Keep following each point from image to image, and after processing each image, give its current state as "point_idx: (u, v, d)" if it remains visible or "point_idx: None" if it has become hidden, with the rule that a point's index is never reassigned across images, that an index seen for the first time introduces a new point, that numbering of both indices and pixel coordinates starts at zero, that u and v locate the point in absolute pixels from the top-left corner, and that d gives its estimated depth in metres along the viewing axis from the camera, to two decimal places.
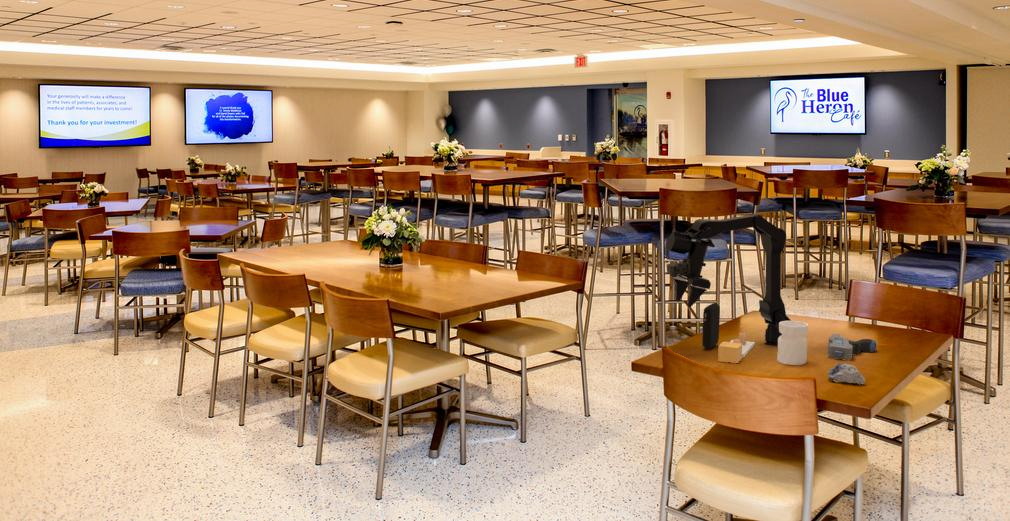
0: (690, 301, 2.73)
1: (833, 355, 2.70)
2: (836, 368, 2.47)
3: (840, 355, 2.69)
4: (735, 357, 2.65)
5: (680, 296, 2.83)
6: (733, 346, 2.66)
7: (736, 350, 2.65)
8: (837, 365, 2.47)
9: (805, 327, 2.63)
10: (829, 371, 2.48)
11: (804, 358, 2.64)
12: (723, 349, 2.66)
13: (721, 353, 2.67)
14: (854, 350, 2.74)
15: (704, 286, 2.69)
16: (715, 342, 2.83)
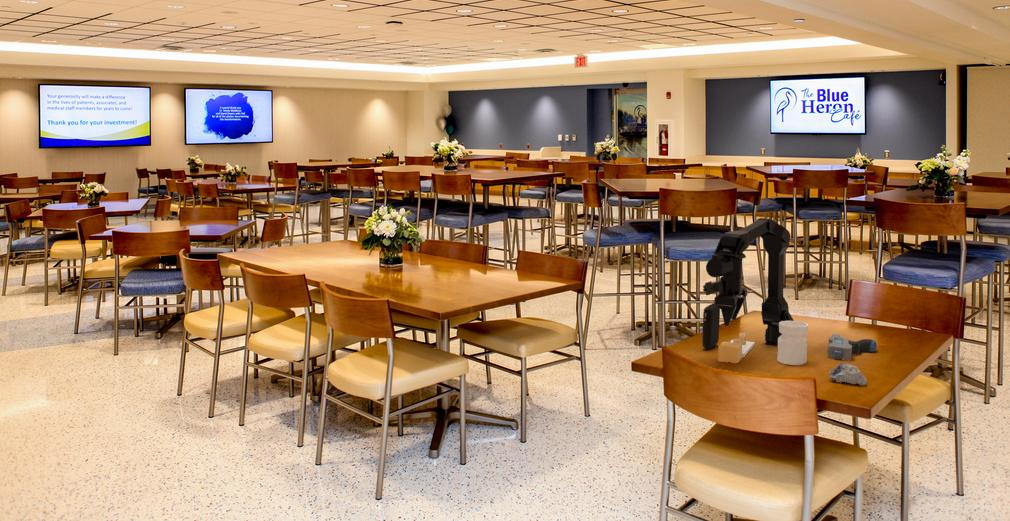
0: (725, 320, 2.63)
1: (832, 355, 2.71)
2: (837, 368, 2.47)
3: (839, 355, 2.69)
4: (735, 357, 2.65)
5: (735, 314, 2.71)
6: (733, 346, 2.66)
7: (736, 350, 2.65)
8: (839, 365, 2.46)
9: (805, 327, 2.63)
10: (831, 371, 2.47)
11: (804, 358, 2.64)
12: (723, 349, 2.66)
13: (721, 353, 2.67)
14: (854, 350, 2.74)
15: (726, 303, 2.58)
16: (715, 342, 2.83)
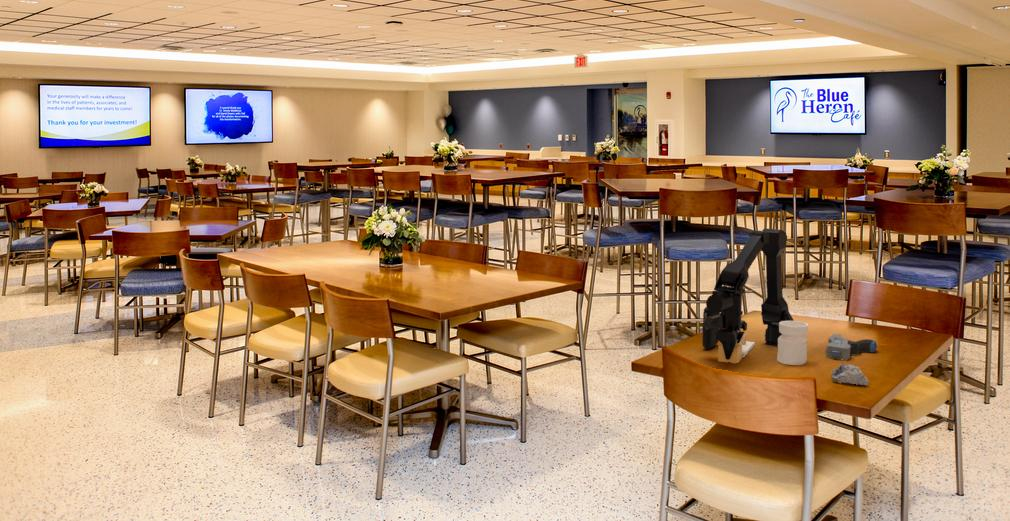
0: (726, 353, 2.65)
1: (830, 355, 2.71)
2: (839, 369, 2.46)
3: (837, 355, 2.69)
4: (735, 357, 2.65)
5: None
6: None
7: (736, 350, 2.65)
8: (840, 366, 2.46)
9: (805, 327, 2.63)
10: (832, 372, 2.47)
11: (804, 358, 2.64)
12: (723, 349, 2.66)
13: (721, 353, 2.67)
14: (853, 350, 2.73)
15: (726, 339, 2.59)
16: (715, 342, 2.83)
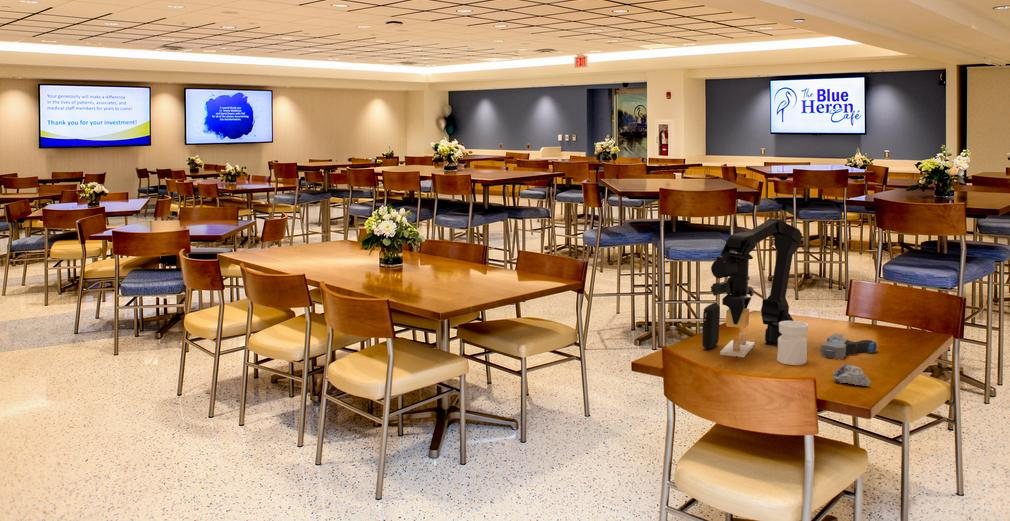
0: (733, 318, 2.71)
1: (825, 354, 2.72)
2: (841, 369, 2.45)
3: (831, 354, 2.71)
4: (743, 322, 2.71)
5: None
6: None
7: (743, 315, 2.70)
8: (842, 366, 2.45)
9: (805, 327, 2.63)
10: (834, 372, 2.46)
11: (804, 358, 2.64)
12: None
13: (729, 318, 2.72)
14: (849, 350, 2.74)
15: (734, 304, 2.64)
16: (715, 342, 2.83)
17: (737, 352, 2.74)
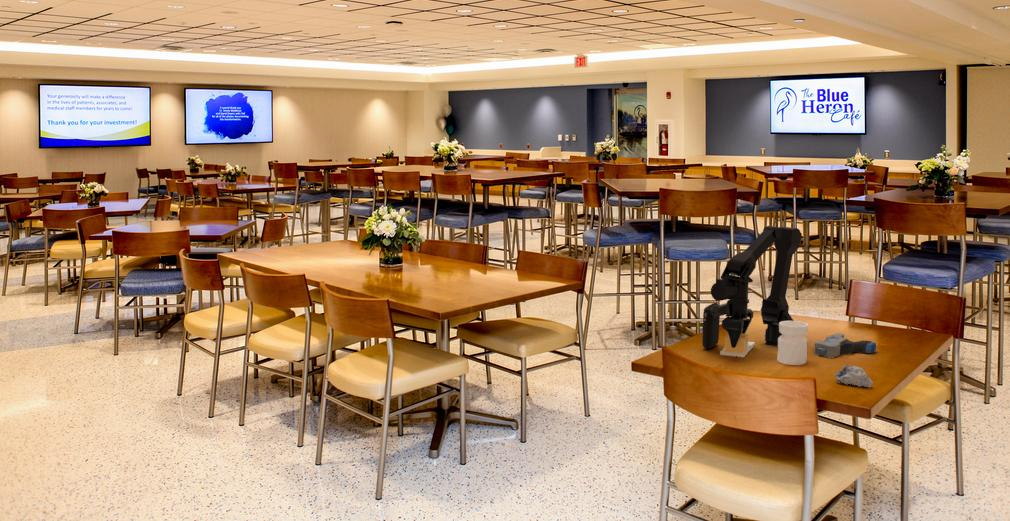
0: (731, 342, 2.72)
1: None
2: (843, 370, 2.45)
3: (823, 352, 2.73)
4: (742, 347, 2.73)
5: None
6: (740, 336, 2.74)
7: (742, 340, 2.72)
8: (845, 367, 2.45)
9: (805, 327, 2.63)
10: (836, 373, 2.46)
11: (804, 358, 2.64)
12: None
13: (728, 343, 2.75)
14: (844, 349, 2.75)
15: (733, 327, 2.67)
16: (715, 342, 2.83)
17: None
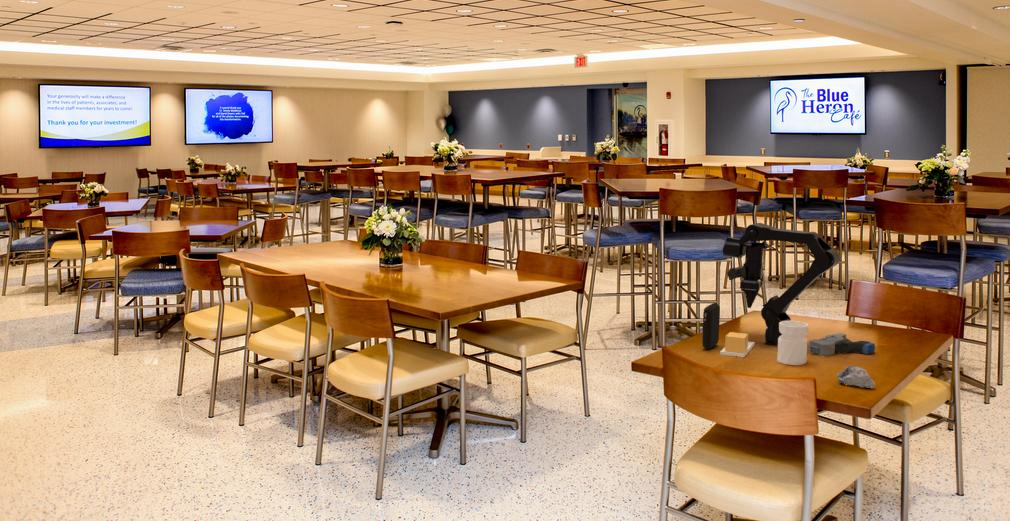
0: (748, 302, 2.88)
1: None
2: (846, 371, 2.44)
3: (816, 350, 2.75)
4: (742, 347, 2.73)
5: None
6: (740, 336, 2.74)
7: (742, 340, 2.72)
8: (847, 368, 2.44)
9: (805, 327, 2.63)
10: (839, 374, 2.45)
11: (804, 358, 2.64)
12: (730, 339, 2.74)
13: (728, 343, 2.75)
14: (839, 349, 2.76)
15: (752, 288, 2.83)
16: (715, 342, 2.83)
17: None
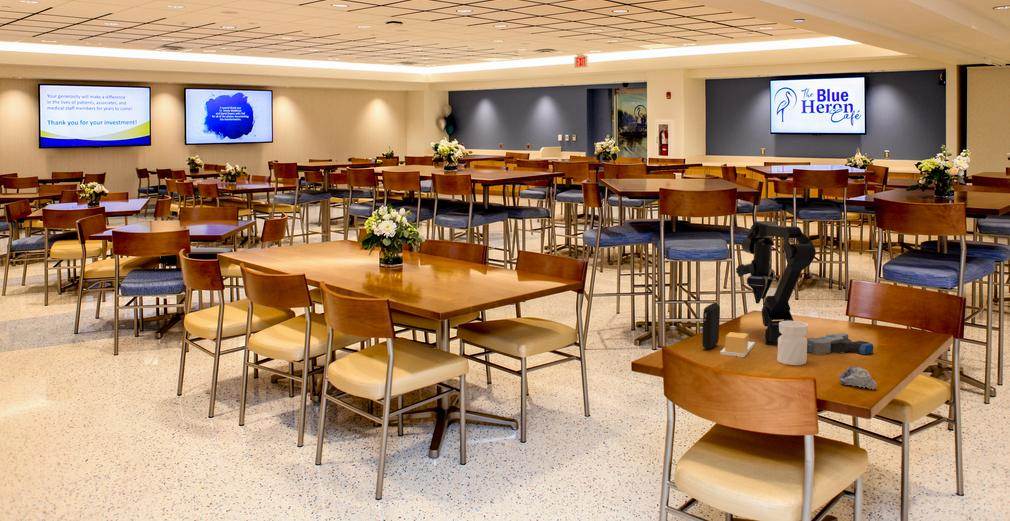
0: (756, 298, 2.94)
1: None
2: (848, 372, 2.43)
3: (811, 348, 2.77)
4: (742, 347, 2.73)
5: (764, 294, 3.03)
6: (740, 336, 2.74)
7: (742, 340, 2.72)
8: (849, 369, 2.43)
9: (805, 327, 2.63)
10: (841, 374, 2.44)
11: (804, 358, 2.64)
12: (730, 339, 2.74)
13: (728, 343, 2.75)
14: (835, 348, 2.77)
15: (758, 283, 2.89)
16: (715, 342, 2.83)
17: None
